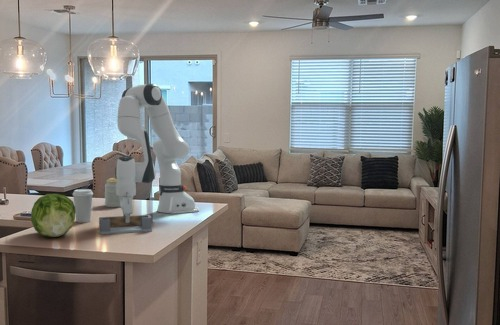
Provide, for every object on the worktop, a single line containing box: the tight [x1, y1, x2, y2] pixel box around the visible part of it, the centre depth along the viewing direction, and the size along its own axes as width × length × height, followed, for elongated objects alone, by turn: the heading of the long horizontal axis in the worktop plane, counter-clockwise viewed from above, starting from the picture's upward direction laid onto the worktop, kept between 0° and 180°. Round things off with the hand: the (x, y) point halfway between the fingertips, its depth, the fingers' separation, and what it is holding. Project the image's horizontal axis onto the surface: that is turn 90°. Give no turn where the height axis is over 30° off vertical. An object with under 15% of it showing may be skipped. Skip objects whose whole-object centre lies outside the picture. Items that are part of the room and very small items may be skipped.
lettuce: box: [30, 193, 76, 238], centre depth 212 cm, size 18×23×19 cm
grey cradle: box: [98, 214, 153, 235], centre depth 222 cm, size 22×7×6 cm, turn 110°
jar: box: [104, 174, 121, 208], centre depth 286 cm, size 13×13×18 cm
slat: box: [108, 215, 140, 227], centre depth 236 cm, size 18×3×4 cm, turn 108°
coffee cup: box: [72, 188, 94, 224], centre depth 241 cm, size 10×10×15 cm
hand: (126, 220), depth 236 cm, fingers open, 8 cm apart
